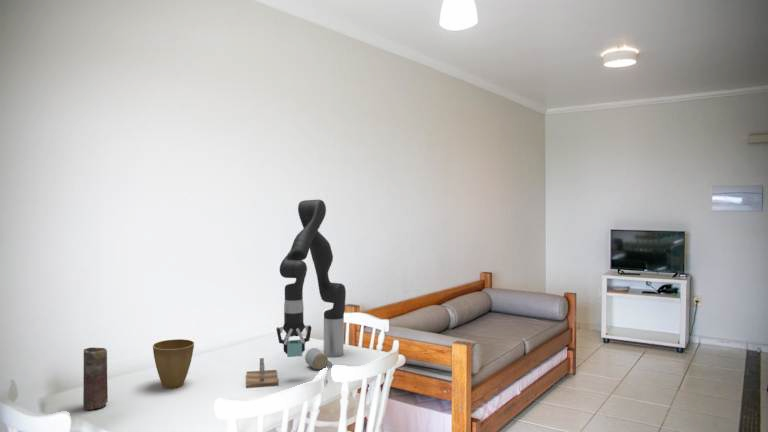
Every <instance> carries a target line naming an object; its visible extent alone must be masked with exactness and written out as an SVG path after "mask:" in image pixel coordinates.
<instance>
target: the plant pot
mask: <svg viewBox="0 0 768 432" xmlns="http://www.w3.org/2000/svg"><path fill="white" fill-rule="evenodd" d="M194 346H195V341H193V340H191V339H190V340H189V339H182V338H178V339H177V338H176V339H167V340H162V341H161V340H160V341H158V342H155V343H153V344H152V351H153V358H154V363H155V367H156V368H155V369H156V371H157V374H158V377H159V379H160V383H161V385H162V387H163V388H165V387H166V389H176V388H175V387H177V388H180V387H183V385H185V384H184V383H185V381H186V378H187V375H188V374H189V369H190V366H191V364H192V359H193V353H194ZM179 386H180V387H179Z"/></svg>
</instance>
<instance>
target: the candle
mask: <svg viewBox="0 0 768 432" xmlns="http://www.w3.org/2000/svg"><path fill="white" fill-rule="evenodd" d="M108 389H109V388H108V349H107V348H105V347H88V348H84V349H83V394H82V395H83V399H82V400H83V410H84V409H87V410H88V411H91V410H94V409H101V408H103V407H104V406H105V405H106V404H108V401H109V400H108V395H109V393H108V392H109V391H108Z"/></svg>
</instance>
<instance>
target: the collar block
mask: <svg viewBox="0 0 768 432" xmlns="http://www.w3.org/2000/svg"><path fill="white" fill-rule="evenodd" d="M286 355H287V358H293V357H303V353H302V342H301V339H291V340H290V339H289V340H288V342H287V354H286Z"/></svg>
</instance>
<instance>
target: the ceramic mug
mask: <svg viewBox="0 0 768 432" xmlns="http://www.w3.org/2000/svg"><path fill="white" fill-rule="evenodd" d="M304 360H305V363H306V364H307V365H308V366H310V367H311V368H312V369H315V370H318V371H320V370H323V369H325V368H326V367H330V366H331V367H332V365H333V362H332V361H330V360H329V359H328V356H326V355H325V354H324V351H321V350H319V349H318V348H316V347H314V348H313V347H312V348H310V349H308V350H307V352H306V353H305V357H304Z"/></svg>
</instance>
